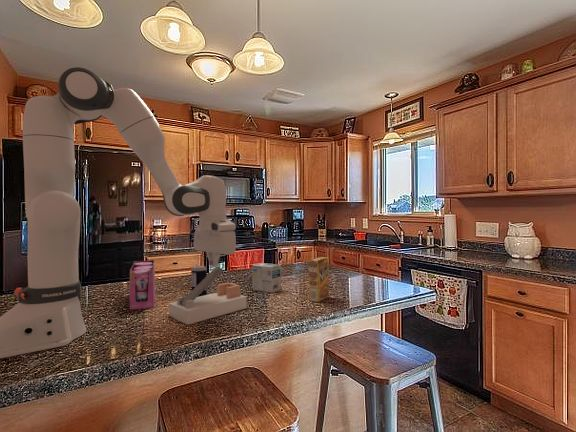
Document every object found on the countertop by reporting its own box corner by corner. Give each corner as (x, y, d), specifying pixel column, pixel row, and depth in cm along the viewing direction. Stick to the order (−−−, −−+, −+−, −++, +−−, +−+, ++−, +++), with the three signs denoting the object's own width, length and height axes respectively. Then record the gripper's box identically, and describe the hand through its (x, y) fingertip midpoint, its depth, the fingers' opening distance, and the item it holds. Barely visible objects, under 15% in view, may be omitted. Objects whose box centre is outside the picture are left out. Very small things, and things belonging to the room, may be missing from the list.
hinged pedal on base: (187, 324, 96) (187, 299, 96) (168, 315, 105) (168, 292, 104) (246, 308, 112) (246, 286, 112) (226, 301, 120) (225, 281, 120)
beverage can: (202, 300, 123) (202, 268, 122) (188, 299, 124) (188, 267, 123) (209, 296, 128) (208, 265, 128) (195, 295, 129) (195, 265, 129)
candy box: (318, 302, 118) (318, 260, 118) (308, 300, 120) (308, 259, 120) (329, 297, 125) (329, 257, 125) (319, 295, 128) (319, 256, 127)
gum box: (154, 308, 112) (153, 269, 112) (128, 311, 110) (128, 271, 109) (155, 292, 135) (154, 259, 135) (134, 294, 132) (133, 261, 132)
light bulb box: (281, 289, 137) (281, 264, 137) (272, 293, 132) (272, 266, 132) (261, 286, 143) (261, 262, 143) (251, 290, 138) (251, 264, 137)
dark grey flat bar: (187, 307, 100) (185, 305, 100) (180, 304, 103) (179, 302, 103) (223, 270, 110) (222, 268, 109) (216, 269, 113) (215, 267, 112)
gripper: (188, 224, 114) (189, 263, 114) (222, 225, 100) (223, 270, 100) (204, 223, 119) (205, 261, 119) (239, 224, 104) (239, 268, 105)
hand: (213, 265), depth 109 cm, fingers closed
